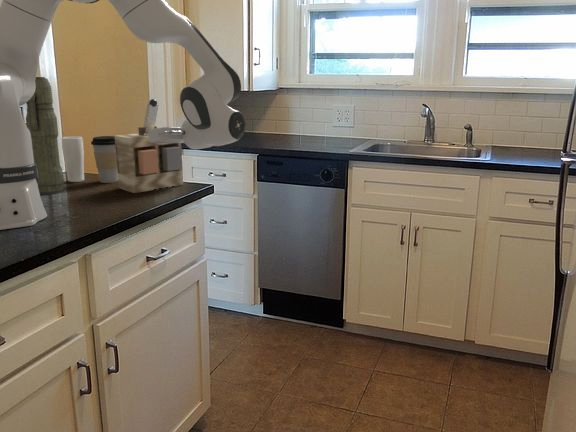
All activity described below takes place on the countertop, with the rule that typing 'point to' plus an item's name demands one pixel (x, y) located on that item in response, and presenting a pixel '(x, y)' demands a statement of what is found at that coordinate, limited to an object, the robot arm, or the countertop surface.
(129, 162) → the console
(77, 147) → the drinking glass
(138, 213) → the countertop surface
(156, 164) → the key terracotta
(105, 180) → the coffee cup
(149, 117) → the toggle lever
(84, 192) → the countertop surface
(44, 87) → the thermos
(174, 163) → the key charcoal
